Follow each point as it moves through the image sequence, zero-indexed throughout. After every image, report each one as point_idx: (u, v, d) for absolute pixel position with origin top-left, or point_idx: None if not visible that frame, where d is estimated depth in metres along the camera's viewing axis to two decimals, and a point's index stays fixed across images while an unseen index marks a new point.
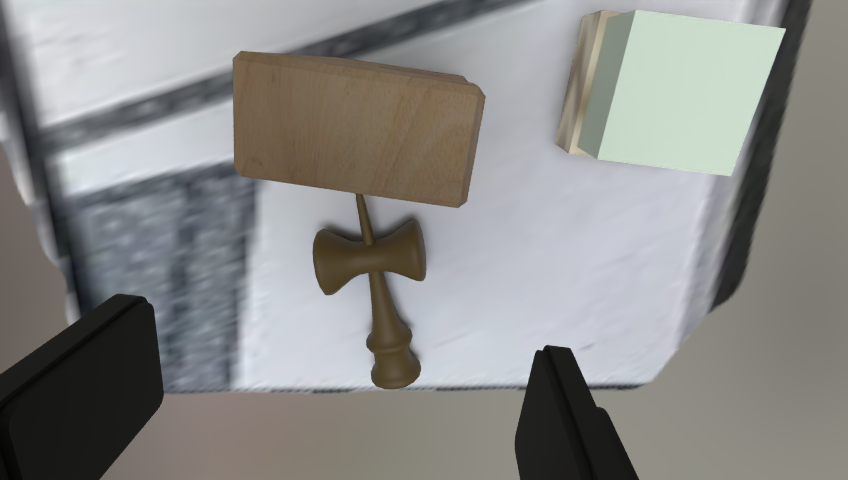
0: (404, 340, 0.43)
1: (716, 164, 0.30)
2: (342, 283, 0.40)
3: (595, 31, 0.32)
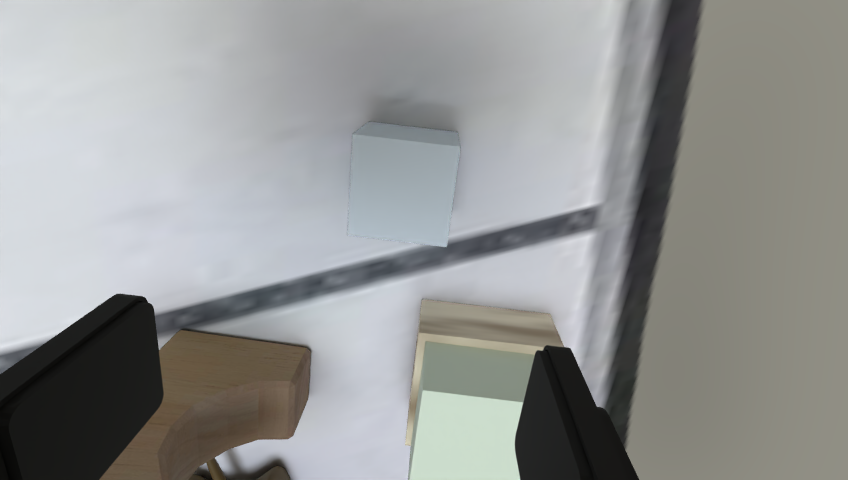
0: None
1: None
2: None
3: None
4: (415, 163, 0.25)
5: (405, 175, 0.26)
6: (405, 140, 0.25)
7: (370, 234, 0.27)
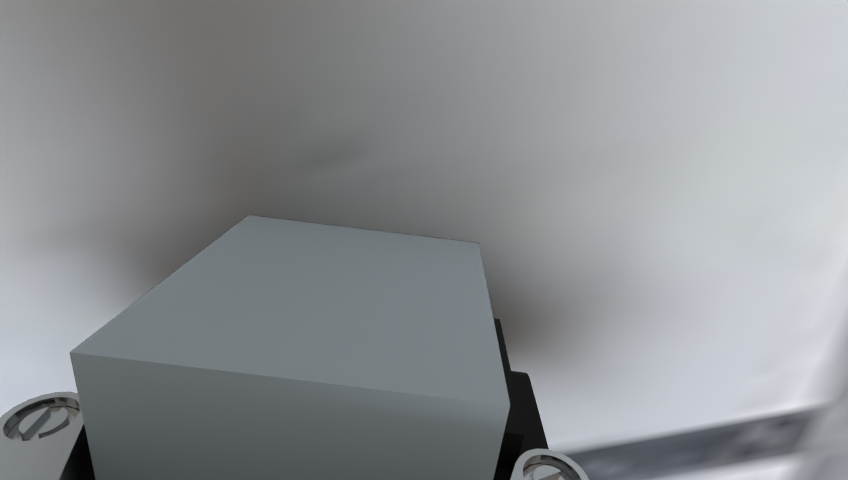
0: None
1: None
2: None
3: None
4: (331, 450, 0.07)
5: None
6: (288, 373, 0.06)
7: None
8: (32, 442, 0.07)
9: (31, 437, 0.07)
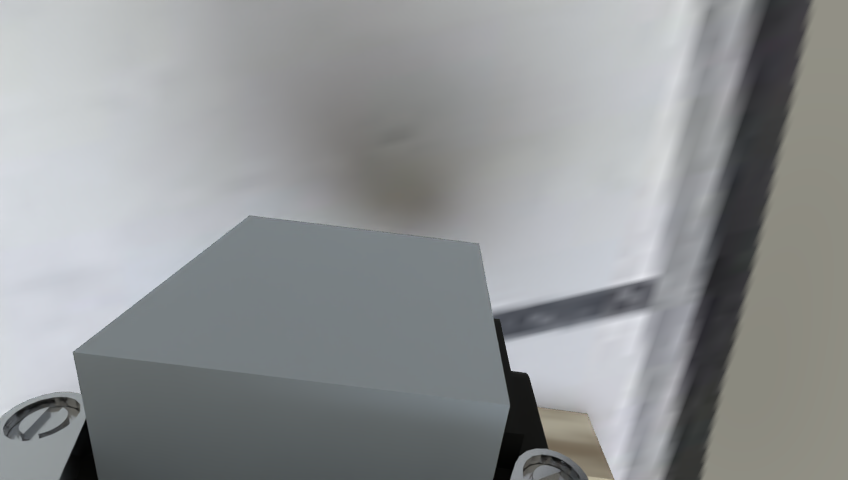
0: None
1: None
2: None
3: None
4: (332, 449, 0.07)
5: None
6: (289, 373, 0.06)
7: None
8: (32, 442, 0.07)
9: (31, 437, 0.07)
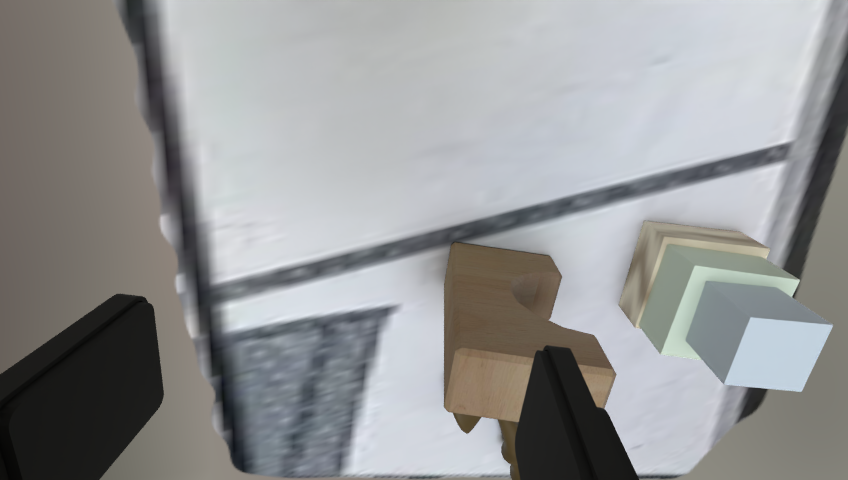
0: None
1: None
2: None
3: (658, 247, 0.43)
4: (794, 335, 0.33)
5: (783, 344, 0.34)
6: (789, 320, 0.33)
7: (742, 383, 0.35)
8: None
9: None
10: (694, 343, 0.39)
